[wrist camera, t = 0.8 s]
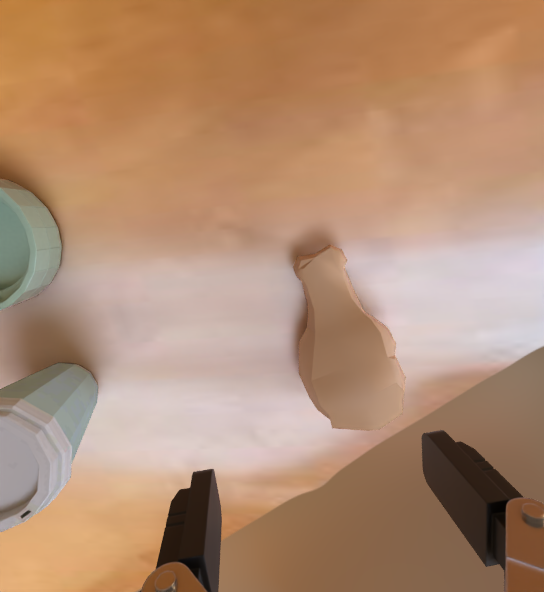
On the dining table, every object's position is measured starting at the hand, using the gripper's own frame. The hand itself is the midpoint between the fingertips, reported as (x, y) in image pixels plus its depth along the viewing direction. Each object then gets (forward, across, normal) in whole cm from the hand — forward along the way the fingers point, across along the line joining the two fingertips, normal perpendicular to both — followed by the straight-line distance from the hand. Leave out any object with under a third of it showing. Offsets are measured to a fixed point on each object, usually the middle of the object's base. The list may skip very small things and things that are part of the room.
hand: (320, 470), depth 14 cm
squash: (+28, -7, +5) cm, 30 cm away
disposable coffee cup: (+28, +23, +7) cm, 37 cm away
